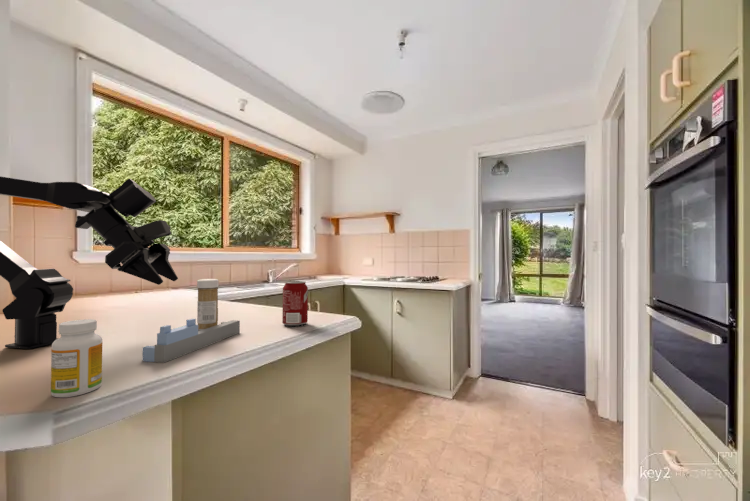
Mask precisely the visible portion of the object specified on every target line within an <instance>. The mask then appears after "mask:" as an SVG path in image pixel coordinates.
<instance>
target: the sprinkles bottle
mask: <svg viewBox="0 0 750 501" xmlns="http://www.w3.org/2000/svg"><path fill="white" fill-rule="evenodd" d="M196 282H197V283H196V288H197V307H196V308H197V312H196V313H197V316H196V317H197V319H196V322H197V323H196V324H197V325H198V330H199V329H207V328H210V327H213V326H216V325H219V323H218V321H219V308H218V307H219V298H218V297H219V286H220V285H219V282H220V281H219V279H217V278H201V279H198V280H197V281H196Z"/></svg>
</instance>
